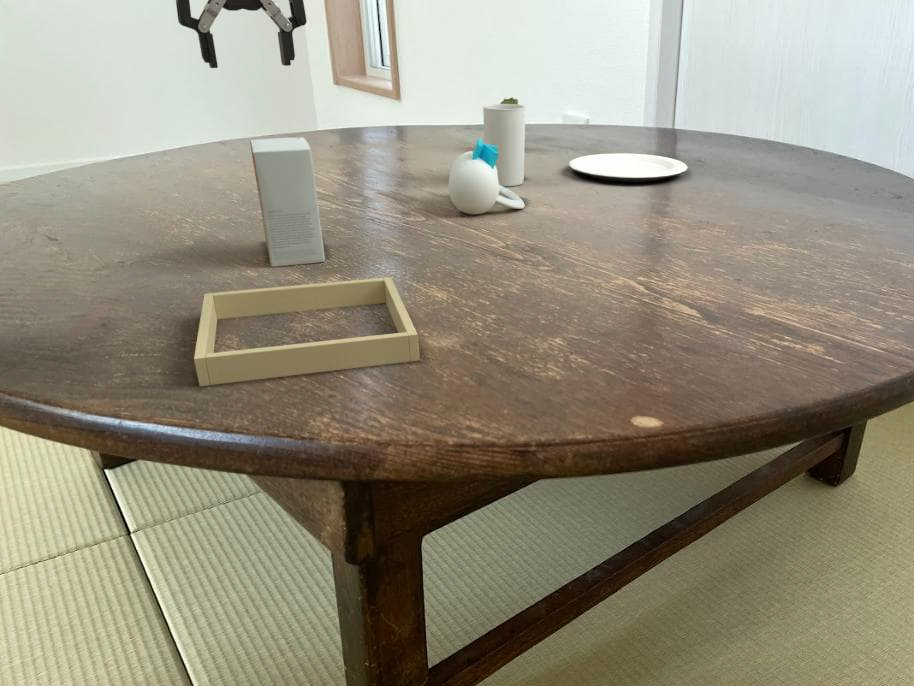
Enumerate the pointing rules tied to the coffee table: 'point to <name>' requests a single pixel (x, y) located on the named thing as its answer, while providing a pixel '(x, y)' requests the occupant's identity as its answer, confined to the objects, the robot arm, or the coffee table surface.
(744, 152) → the coffee table surface
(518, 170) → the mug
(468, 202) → the mug
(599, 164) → the plate
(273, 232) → the small box
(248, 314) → the rectangular frame
